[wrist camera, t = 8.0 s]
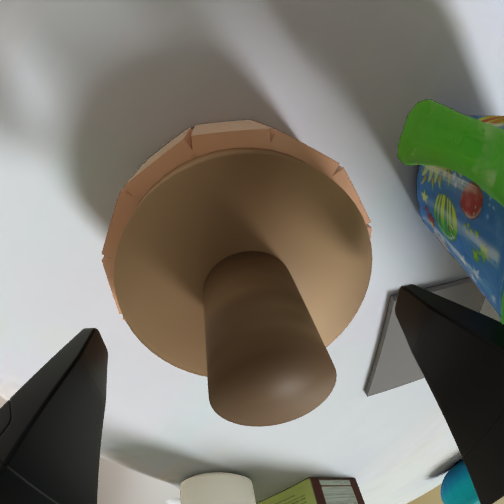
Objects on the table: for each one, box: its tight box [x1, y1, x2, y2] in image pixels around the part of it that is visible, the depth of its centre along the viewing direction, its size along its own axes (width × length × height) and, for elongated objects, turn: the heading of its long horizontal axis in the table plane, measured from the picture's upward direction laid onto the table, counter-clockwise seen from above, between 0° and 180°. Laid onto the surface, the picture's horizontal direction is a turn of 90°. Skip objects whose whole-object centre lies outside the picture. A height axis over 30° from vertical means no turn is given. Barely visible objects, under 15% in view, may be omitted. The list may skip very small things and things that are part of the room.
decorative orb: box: [441, 460, 480, 504], centre depth 44 cm, size 15×15×15 cm
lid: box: [114, 147, 372, 426], centre depth 9 cm, size 8×8×5 cm
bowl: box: [102, 120, 372, 320], centre depth 13 cm, size 10×10×4 cm
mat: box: [365, 278, 485, 397], centre depth 21 cm, size 10×10×1 cm
